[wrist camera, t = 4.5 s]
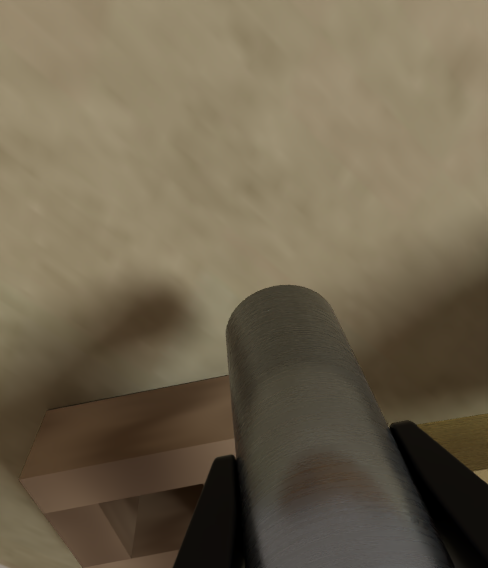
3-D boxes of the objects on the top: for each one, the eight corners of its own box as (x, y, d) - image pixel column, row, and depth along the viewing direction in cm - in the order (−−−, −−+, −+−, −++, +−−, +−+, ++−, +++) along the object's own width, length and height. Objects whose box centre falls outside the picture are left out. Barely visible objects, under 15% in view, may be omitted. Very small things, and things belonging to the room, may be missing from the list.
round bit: (332, 274, 11) (721, 992, 3) (339, 363, 13) (602, 991, 5) (215, 298, 12) (257, 1073, 3) (237, 383, 13) (305, 1042, 5)
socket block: (241, 372, 19) (248, 435, 16) (270, 491, 24) (280, 557, 21) (47, 410, 19) (18, 479, 16) (112, 521, 24) (100, 591, 21)
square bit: (525, 403, 22) (571, 455, 20) (514, 444, 24) (554, 497, 21) (374, 427, 22) (398, 483, 20) (373, 466, 24) (395, 522, 21)
